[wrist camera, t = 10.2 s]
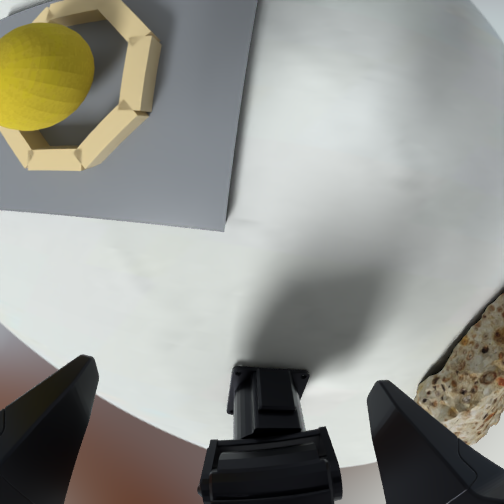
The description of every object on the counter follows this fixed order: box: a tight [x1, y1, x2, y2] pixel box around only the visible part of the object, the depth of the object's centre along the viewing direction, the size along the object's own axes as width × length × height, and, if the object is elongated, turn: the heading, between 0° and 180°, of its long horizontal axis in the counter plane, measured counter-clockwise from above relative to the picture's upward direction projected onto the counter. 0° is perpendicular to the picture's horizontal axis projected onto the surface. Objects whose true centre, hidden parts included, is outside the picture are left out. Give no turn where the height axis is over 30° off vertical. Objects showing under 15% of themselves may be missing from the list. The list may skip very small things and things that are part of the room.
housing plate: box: [0, 0, 258, 232], centre depth 13 cm, size 15×20×4 cm
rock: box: [414, 293, 504, 446], centre depth 23 cm, size 21×14×10 cm
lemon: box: [0, 22, 95, 131], centre depth 10 cm, size 6×6×8 cm
